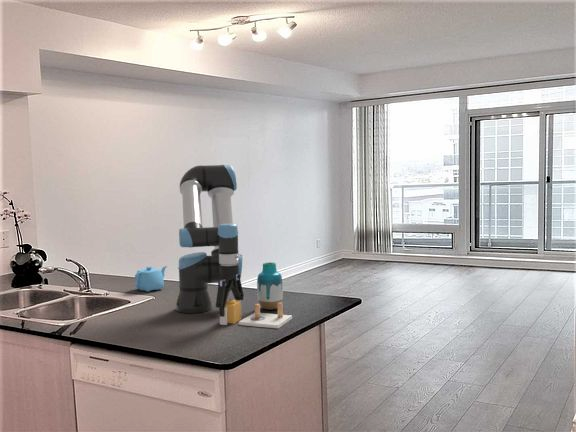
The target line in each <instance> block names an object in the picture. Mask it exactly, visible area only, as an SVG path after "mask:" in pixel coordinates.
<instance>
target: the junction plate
mask: <svg viewBox="0 0 576 432" xmlns="http://www.w3.org/2000/svg"><path fill="white" fill-rule="evenodd" d="M283 303H284V302H283V301H282V302H279V303H277V307H278V308H277V313H276V314H275V313H266V312H265V313H264V312H261V306H260V304H259V303H254V312H253V313H251V314H250V315H248V316H246V317H244V318H243V319H241V320H240V321H238V325H239V326H247V327H248V326H249V327H256V328H257V327H259V328H269V329H280V328H281V327H283V326H284V325H285V324H287V323H288V322H290V321H291V320H293V315H290V314H289V315H288V314H284V312H283V311H284V310H283V309H284V306H283Z"/></svg>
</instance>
